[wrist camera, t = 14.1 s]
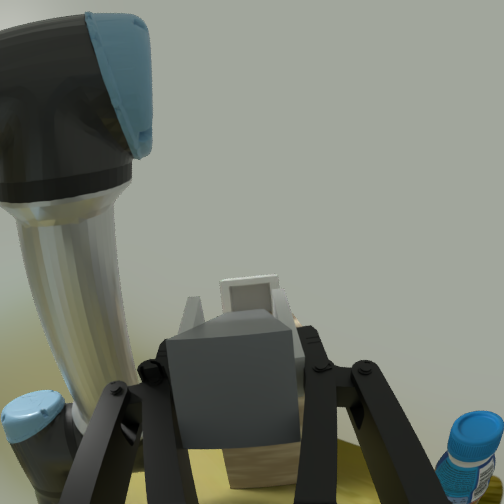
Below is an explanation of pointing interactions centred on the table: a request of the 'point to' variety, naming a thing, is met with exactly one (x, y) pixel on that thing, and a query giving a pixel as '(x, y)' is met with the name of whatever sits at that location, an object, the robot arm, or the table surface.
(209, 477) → the table surface
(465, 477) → the beverage bottle
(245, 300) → the socket hood
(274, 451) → the birch stand
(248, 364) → the charcoal bar
